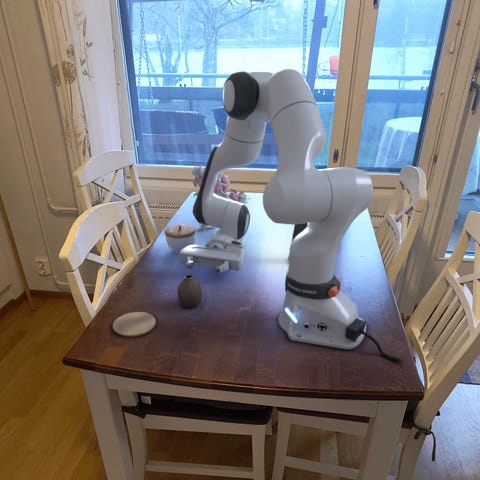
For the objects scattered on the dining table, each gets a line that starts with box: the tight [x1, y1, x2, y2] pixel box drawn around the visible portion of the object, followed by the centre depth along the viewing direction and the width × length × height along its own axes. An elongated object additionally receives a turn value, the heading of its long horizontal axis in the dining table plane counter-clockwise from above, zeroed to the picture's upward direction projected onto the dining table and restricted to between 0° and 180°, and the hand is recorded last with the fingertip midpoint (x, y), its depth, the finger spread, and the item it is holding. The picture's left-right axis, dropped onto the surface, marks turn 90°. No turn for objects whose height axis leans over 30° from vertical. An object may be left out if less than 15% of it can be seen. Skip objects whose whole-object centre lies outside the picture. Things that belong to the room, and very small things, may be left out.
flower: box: [191, 163, 252, 232], centre depth 164 cm, size 20×22×25 cm
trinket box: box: [164, 223, 197, 255], centre depth 148 cm, size 11×11×9 cm
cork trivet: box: [112, 311, 157, 338], centre depth 111 cm, size 11×11×1 cm
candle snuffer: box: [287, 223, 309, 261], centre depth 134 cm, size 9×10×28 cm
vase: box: [176, 274, 204, 309], centre depth 117 cm, size 7×7×9 cm
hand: (203, 268), depth 125 cm, fingers open, 8 cm apart
